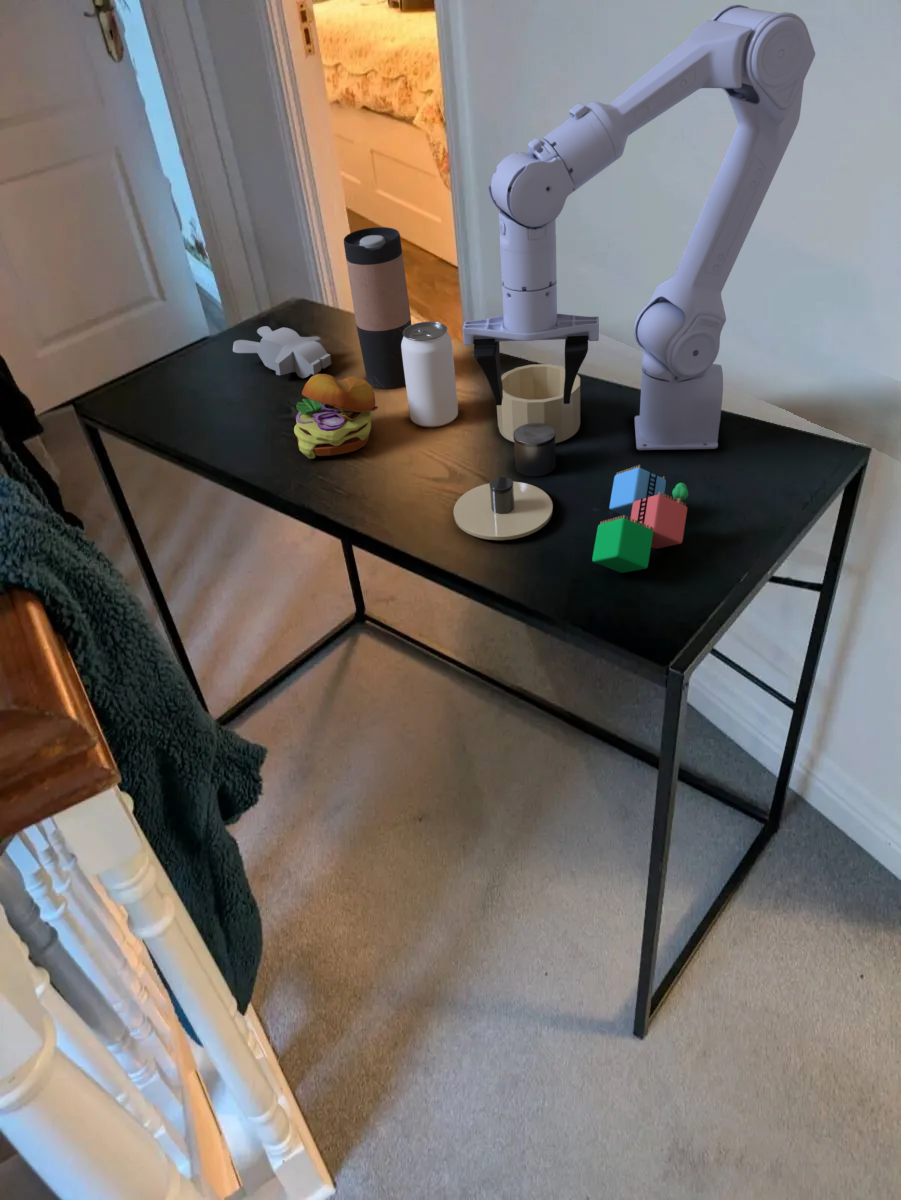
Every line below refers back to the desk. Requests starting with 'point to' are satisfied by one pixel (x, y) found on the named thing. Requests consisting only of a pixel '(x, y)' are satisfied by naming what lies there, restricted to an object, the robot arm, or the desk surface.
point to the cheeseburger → (334, 415)
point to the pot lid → (503, 510)
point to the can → (429, 374)
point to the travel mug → (379, 302)
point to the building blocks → (639, 520)
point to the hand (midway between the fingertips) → (532, 400)
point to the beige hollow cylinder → (538, 401)
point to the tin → (534, 449)
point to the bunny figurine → (287, 351)
